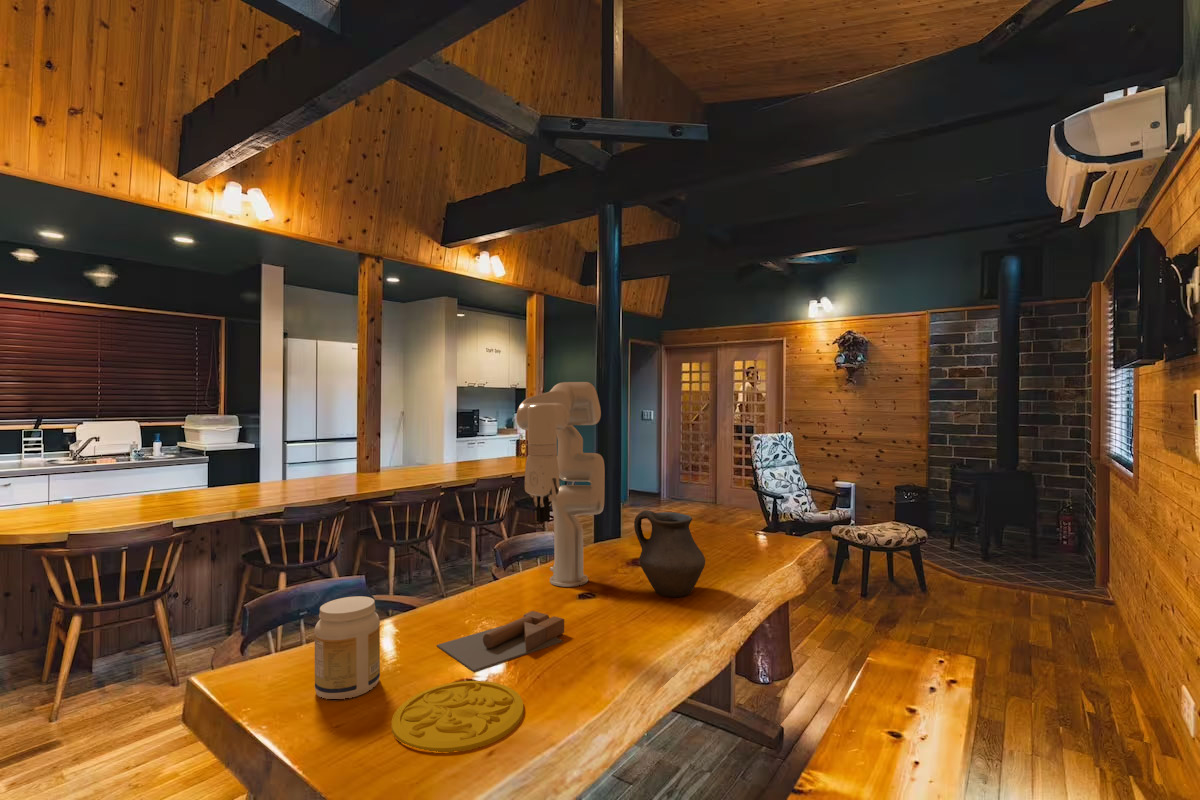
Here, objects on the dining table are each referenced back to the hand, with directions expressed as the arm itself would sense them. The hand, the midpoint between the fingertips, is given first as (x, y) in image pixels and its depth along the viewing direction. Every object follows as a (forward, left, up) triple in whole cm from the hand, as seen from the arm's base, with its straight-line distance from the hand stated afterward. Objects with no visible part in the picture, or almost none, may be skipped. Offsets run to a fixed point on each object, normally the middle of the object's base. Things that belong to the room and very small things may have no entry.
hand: (543, 521), depth 148 cm
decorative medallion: (+25, -37, -28) cm, 53 cm away
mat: (+2, -14, -27) cm, 31 cm away
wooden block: (+2, 0, -25) cm, 25 cm away
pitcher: (+3, +45, -28) cm, 53 cm away
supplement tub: (0, -49, -28) cm, 56 cm away
